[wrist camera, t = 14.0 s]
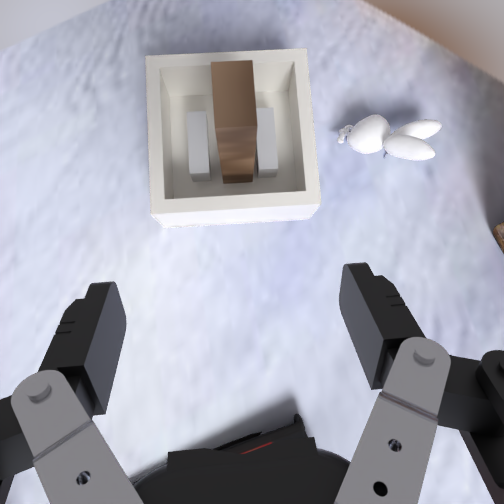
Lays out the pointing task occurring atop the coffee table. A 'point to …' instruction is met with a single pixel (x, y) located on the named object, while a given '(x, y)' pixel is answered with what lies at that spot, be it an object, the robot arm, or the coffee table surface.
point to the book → (499, 235)
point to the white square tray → (206, 150)
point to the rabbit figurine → (391, 137)
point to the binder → (265, 438)
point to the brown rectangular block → (235, 118)
